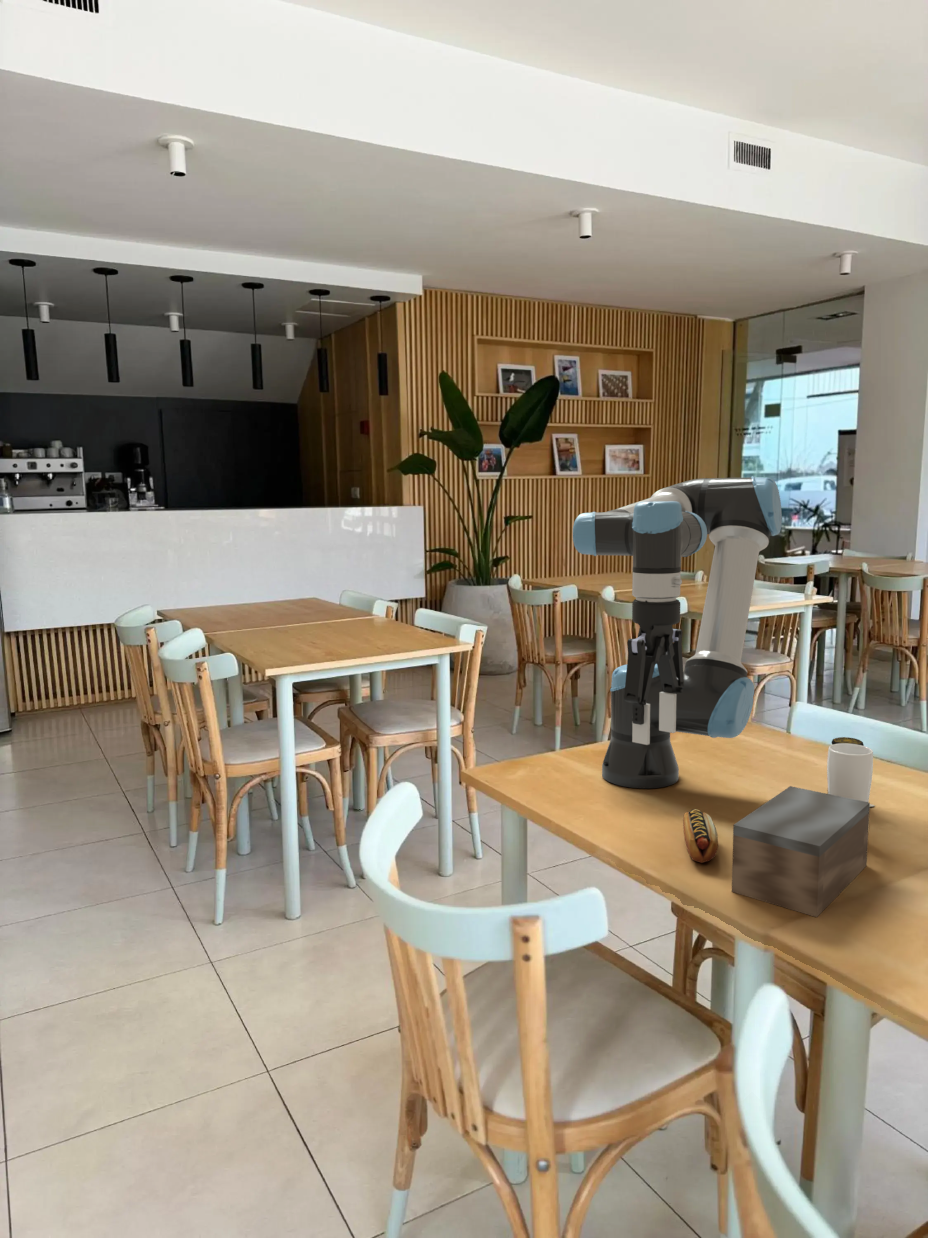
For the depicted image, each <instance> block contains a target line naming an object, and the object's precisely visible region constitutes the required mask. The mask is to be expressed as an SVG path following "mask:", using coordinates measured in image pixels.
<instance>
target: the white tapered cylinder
mask: <svg viewBox="0 0 928 1238" xmlns="http://www.w3.org/2000/svg"><path fill="white" fill-rule="evenodd" d="M826 768H827V769H826V774H827V775H826V776H827V790H828V791H827V793H828V794H831V795H835V796H840V797H845V798H850V799H855V800H860V801H864V802H869V800H870V796H871V788H872V781H873V769H874V751H873V749H871V748H870V747H868V746H865V745H864V746H862V745H857V744H848V743H840V744H833V745H832V744H830V745H829V746H828V749H827V761H826ZM869 803H870V802H869Z"/></svg>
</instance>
